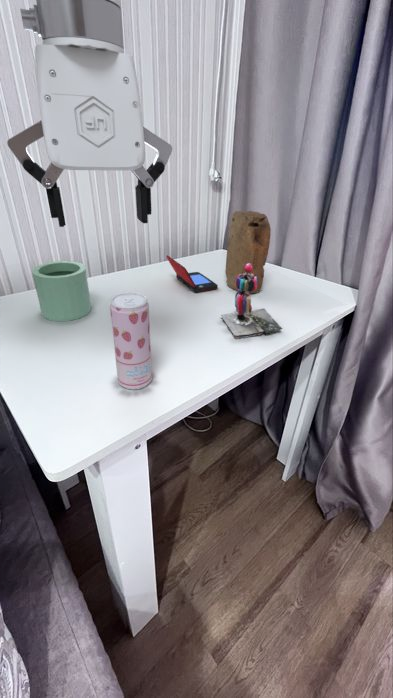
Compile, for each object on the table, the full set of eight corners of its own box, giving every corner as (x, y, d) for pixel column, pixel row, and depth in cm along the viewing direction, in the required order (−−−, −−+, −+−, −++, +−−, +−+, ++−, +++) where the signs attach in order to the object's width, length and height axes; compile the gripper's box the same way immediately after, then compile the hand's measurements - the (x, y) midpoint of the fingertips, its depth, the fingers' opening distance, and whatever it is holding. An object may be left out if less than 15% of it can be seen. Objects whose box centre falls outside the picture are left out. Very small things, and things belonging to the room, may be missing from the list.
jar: (43, 324, 71) (32, 280, 66) (41, 304, 79) (31, 263, 74) (94, 317, 75) (88, 274, 70) (87, 298, 83) (81, 259, 78)
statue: (235, 343, 70) (234, 277, 61) (220, 322, 77) (218, 260, 69) (282, 333, 72) (288, 267, 63) (263, 313, 79) (267, 252, 71)
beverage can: (128, 395, 53) (120, 311, 45) (112, 377, 57) (102, 296, 49) (158, 382, 56) (156, 301, 48) (140, 366, 60) (136, 288, 52)
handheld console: (219, 289, 91) (221, 263, 87) (183, 295, 87) (184, 268, 83) (198, 274, 101) (199, 250, 97) (165, 279, 96) (165, 254, 92)
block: (221, 283, 95) (228, 209, 85) (242, 279, 99) (251, 208, 88) (244, 297, 88) (254, 218, 77) (266, 292, 91) (278, 216, 80)
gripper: (-29, 8, 26) (25, 233, 35) (181, 38, 31) (180, 226, 40) (-15, 31, 32) (28, 218, 41) (160, 52, 37) (163, 214, 46)
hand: (103, 222), depth 41 cm, fingers open, 9 cm apart
